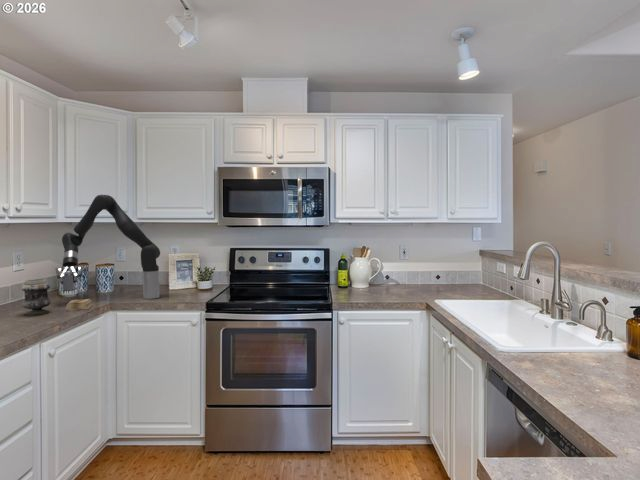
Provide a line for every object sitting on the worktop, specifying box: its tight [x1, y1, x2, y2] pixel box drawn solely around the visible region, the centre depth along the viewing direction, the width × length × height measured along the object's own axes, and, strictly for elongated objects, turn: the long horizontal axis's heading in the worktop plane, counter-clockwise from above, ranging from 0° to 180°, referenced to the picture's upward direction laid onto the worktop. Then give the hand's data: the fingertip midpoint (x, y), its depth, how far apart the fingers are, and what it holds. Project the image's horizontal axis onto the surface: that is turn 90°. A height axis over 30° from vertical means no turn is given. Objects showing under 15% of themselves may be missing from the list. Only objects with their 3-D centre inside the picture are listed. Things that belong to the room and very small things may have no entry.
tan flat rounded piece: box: [65, 298, 93, 312], centre depth 203 cm, size 10×10×4 cm
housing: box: [62, 271, 77, 292], centre depth 210 cm, size 6×6×11 cm
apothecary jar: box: [21, 278, 52, 317], centre depth 191 cm, size 12×12×18 cm
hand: (68, 282), depth 208 cm, fingers closed on housing, 5 cm apart
